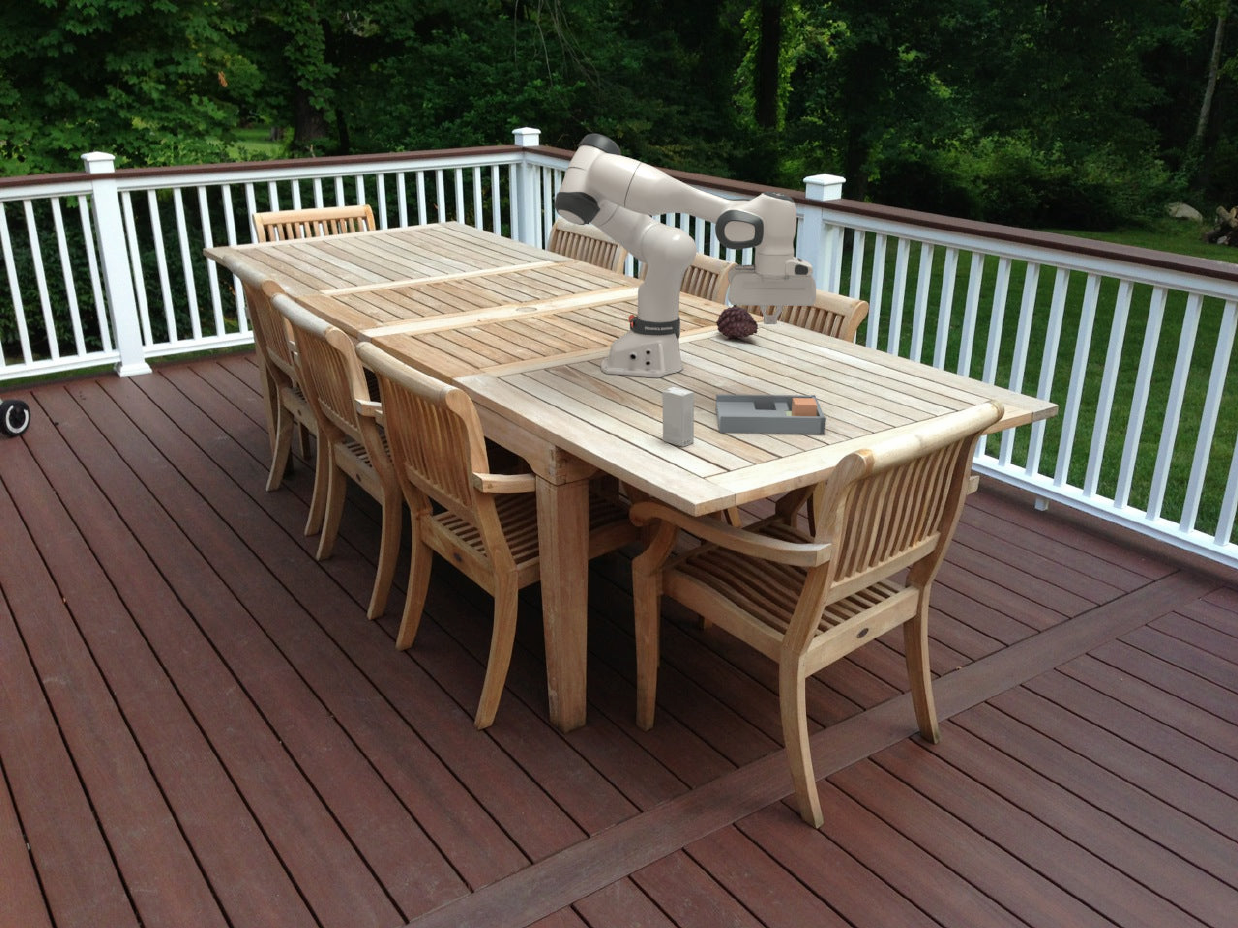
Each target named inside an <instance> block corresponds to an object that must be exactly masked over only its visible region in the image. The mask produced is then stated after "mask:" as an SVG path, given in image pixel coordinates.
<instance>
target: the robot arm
mask: <svg viewBox="0 0 1238 928" xmlns="http://www.w3.org/2000/svg"><path fill="white" fill-rule="evenodd" d="M577 147H578V149H577V150H576V151H575V153H574V155H573V157H572V158H571V160H570V162H569V164H568V166H567V168H566V172H565V174H564V175H563V176H564V177H563V179H562V183H561V185H560V188H559V191H558V192H557V194H556V196H555V201H554V208H555V211H556V213H557V214H558V215H559V216H560V217H561V218H562V219H564V220H565V221H567V222H568V223H571V224H574V225H579V226H586V225H588V224H591V225H592V226H594V227H595V228H597V229H598V231H601V232H602V233H604V234H605V235H607V236H608V237H610V238H611V239H612V240H613V241H615V242H617V244H619V245H620V246H621V247H622V248H623V249H624V250H625V251H626V252H627V253H629V254H630V255H631V256H632V257H634V258H635V260H638V261H639V262H642V263H645V264H647V270H646V271H647V272H646V275H645V279H644V281H643V282H642V283H641V284H640V285H639V286H638V289H637V315H634V314H630V315H629V316H628V322H629V330H628V331H627V332H626V333H624V334H622V335H621V336H620V337H619V338H617V339H616V340H614V341H613V342H612V344H611V346H610V349H609V352H608V356H607V357H604V358H603V360H602V361H600V370H601V371H602V372H603V373H604V374H608V375H620V376H631V377H645V378H646V377H648V378H661V377H664V376H667V375H670V374H671V375H672V374H676V373H678V372H681V371H682V370H683V369H684V366H683V361H682V358H681V357H682V356H681V352H680V351H681V350H680V342H679V339H680V336H681V318H680V316H679V311H680V310H679V308H680V290H681V286H682V282H683V278H684V275H685V273H686V271H687V270H688V268H689V267H690V266H691V265H692V264H693V263H694V261H695V258H696V256H697V245H696V242H695V239H694V238H692V236H691V235H689V234H688V233H687V232H686V231H684V230H683V229H681V228H678V227H675V226H670V225H668V224H664V223H661V222H660V221H657V220H655V219H654V218H652V217H651V216H661V215H665V214H673V213H674V214H676V213H677V214H684V215H690V216H692V217H694V218H697V219H701V220H703V221H706V222H708V223H712V224H714V233H715V237H716V239H717V241H718V242H719V243H720V244H721V245H722V247H725V248H726V249H730V250H735V251H736V250H742V249H743V250H744V249H751V248H754V249H755V253H754V255H755V256H754V264H738V263H737V264H735V265H734V266H731V267H730V268H729V270H728V275H727V281H728V282H729V288H728V296H727V298H728V302H729V304H730V305H732V306H759V309H760V311H761V312H762V315H763V324H764V325H777V324H778V318H779V316H780V315H781V313H782V311H783V309H784V307H785V306H786V307H787V306H788V307H789V306H791V307H793V306H794V307H798V306H799V307H812V306H814V305H815V303H816V301H817V286H816V280H815V279H814V277H813V273H814V268H813V265H812V264H811V263H810V262H809V261H807V260H804V259H802V258H798V257H796V256H795V248H794V240H795V236H796V233H797V232H796V231H797V208H796V207H797V206H796V203H795V200H794V199H793V198H791V196H789V195H787V194H784V193H781V192H777V191H764V192H762V193H761V194H760V195H759V196H757V197H755V198H753V199H749V198H738V199H737V198H736V199H734V198H733V199H730V198H725V197H722V196H719V195H717V194H713V193H711V192H708V191H705V190H702V189H699V188H697V187H694V186H691V185H689V184H687V183H684V182H683V181H680V180H679V179H677V178H676V177H675V178H674V177H673V176H671V175H669V174H667V173H665V172H664V171H662V170H660V169H658V168H656V167H653V166H651V165H650V164H647V163H645V162H642V161H639V160H637V159H633V158H631V157H626V156H624V155H621V154H622V153H621V150H620V147H619V144H617V143H616V142H615V141H614V140H612V139H611V138H609V137H608V136H605V135H603V134H599V133H589V134H587V135H586V136H584V138H582V140H581V141H580V143H579V144H578V146H577ZM768 306H775V309H776V310H775V311H774V312H775V313H774V314H770V315H769V314H767V312H766V311H767V309H768Z"/></svg>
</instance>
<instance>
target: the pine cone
mask: <svg viewBox="0 0 1238 928" xmlns="http://www.w3.org/2000/svg"><path fill="white" fill-rule="evenodd" d="M715 323H716V326H717V331H718V332H719V333H721V334H722V336H724V337H727V338H728V339H729V340H731V339H733V338H734V339H737V338H739V339H742V338H746V337H747V338H748V337H749V336H753V335H754V334H758V332H759V331H758V329H759V325H758V323H757V321H756V320H755V319H754V316H753V317H752V315H751V314H750V313H749V312H748V311H747V310H746V309H745V308H743V307H740V306H732V307H727V308H725V309H723V311H722V312H721V313H720V315H718V318H717V320H716V321H715Z"/></svg>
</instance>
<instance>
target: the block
mask: <svg viewBox="0 0 1238 928" xmlns="http://www.w3.org/2000/svg"><path fill="white" fill-rule="evenodd" d="M816 415H817V404H816V401H815V399H814V398H793V402H792V416H815V417H816Z"/></svg>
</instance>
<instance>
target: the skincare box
mask: <svg viewBox="0 0 1238 928" xmlns="http://www.w3.org/2000/svg"><path fill="white" fill-rule="evenodd" d="M661 394H662V441H663V442H666V443H669V444H672V445H675V446H679V447H686V446H689V445H692V444H693V443H694V441H695V435H694V434H695V432H694V431H695V429H694V428H695V418H694V417H695V414H694V413H695V391H691V390H687V389H683V388H680V387H676V386H672V387H670V388H667V389H666V388H665V389H664V390H662V393H661Z"/></svg>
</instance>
